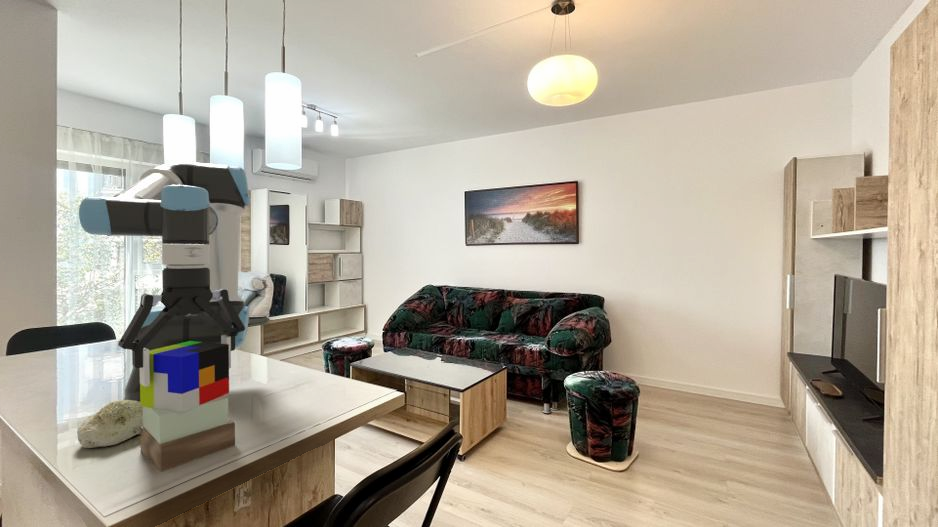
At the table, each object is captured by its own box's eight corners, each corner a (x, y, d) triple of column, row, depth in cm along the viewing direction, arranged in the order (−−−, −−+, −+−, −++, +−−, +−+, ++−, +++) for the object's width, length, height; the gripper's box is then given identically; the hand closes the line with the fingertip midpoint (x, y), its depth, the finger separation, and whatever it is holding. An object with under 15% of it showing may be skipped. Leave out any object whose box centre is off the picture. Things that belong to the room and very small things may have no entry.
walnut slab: (140, 452, 76) (140, 426, 76) (210, 430, 86) (210, 407, 86) (161, 473, 69) (161, 445, 69) (235, 447, 79) (234, 422, 79)
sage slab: (142, 426, 76) (142, 400, 76) (207, 408, 85) (207, 385, 85) (159, 444, 70) (159, 416, 69) (228, 423, 78) (228, 398, 78)
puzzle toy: (182, 412, 71) (181, 357, 71) (140, 406, 74) (139, 352, 73) (229, 392, 81) (228, 344, 80) (190, 388, 83) (189, 341, 83)
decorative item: (129, 402, 90) (159, 389, 87) (136, 442, 88) (166, 429, 85) (60, 416, 78) (91, 401, 76) (65, 462, 76) (97, 448, 74)
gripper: (105, 269, 64) (108, 398, 65) (261, 265, 84) (262, 364, 85) (94, 268, 69) (97, 388, 70) (245, 264, 89) (246, 358, 90)
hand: (188, 375), depth 77 cm, fingers open, 13 cm apart
